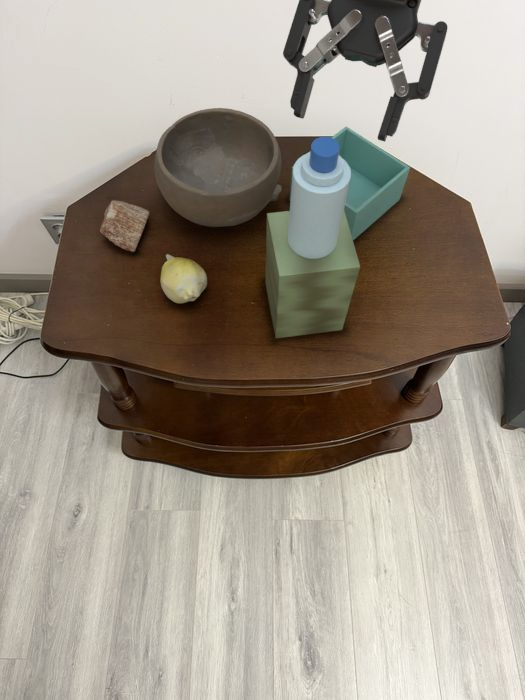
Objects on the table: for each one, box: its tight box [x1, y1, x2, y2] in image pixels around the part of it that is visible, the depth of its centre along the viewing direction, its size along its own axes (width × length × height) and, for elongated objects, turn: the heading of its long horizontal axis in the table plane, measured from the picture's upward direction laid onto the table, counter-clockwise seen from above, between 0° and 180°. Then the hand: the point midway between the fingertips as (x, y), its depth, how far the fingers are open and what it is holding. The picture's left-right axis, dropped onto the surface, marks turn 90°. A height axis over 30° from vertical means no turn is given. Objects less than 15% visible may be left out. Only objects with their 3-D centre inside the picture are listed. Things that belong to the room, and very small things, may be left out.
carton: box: [288, 126, 411, 241], centre depth 78 cm, size 12×12×6 cm
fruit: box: [159, 253, 208, 304], centre depth 71 cm, size 6×6×10 cm
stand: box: [264, 210, 361, 339], centre depth 66 cm, size 9×9×14 cm
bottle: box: [288, 136, 351, 259], centre depth 54 cm, size 6×6×13 cm
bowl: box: [153, 107, 283, 228], centre depth 76 cm, size 17×18×10 cm
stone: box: [99, 200, 150, 253], centre depth 76 cm, size 7×6×5 cm
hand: (339, 128), depth 52 cm, fingers open, 8 cm apart
